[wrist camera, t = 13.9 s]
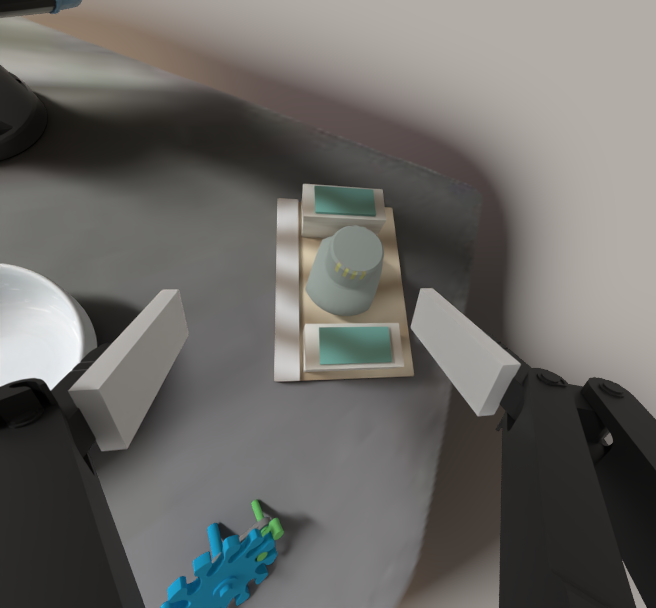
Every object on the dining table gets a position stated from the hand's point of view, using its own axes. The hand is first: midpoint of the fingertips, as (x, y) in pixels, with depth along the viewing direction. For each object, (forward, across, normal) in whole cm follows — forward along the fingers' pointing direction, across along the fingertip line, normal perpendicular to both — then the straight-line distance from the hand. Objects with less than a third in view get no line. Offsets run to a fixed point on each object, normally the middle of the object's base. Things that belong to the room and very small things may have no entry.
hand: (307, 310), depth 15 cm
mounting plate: (+21, +7, -8) cm, 24 cm away
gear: (0, -7, -29) cm, 30 cm away
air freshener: (+20, +6, -8) cm, 23 cm away
